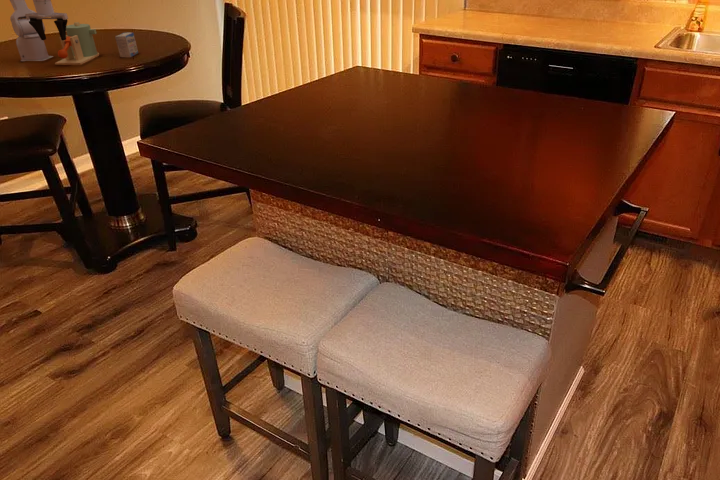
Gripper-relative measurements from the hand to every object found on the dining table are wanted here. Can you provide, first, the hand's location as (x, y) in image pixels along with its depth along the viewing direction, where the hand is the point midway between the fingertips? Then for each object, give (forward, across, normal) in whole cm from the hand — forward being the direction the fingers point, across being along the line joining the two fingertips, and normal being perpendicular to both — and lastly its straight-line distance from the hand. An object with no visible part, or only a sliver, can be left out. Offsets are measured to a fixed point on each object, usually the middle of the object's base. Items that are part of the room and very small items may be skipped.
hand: (54, 39), depth 216 cm
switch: (+5, +1, +5) cm, 7 cm away
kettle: (+10, +2, +17) cm, 20 cm away
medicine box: (+10, +19, +19) cm, 28 cm away
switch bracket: (+10, +2, +8) cm, 13 cm away
